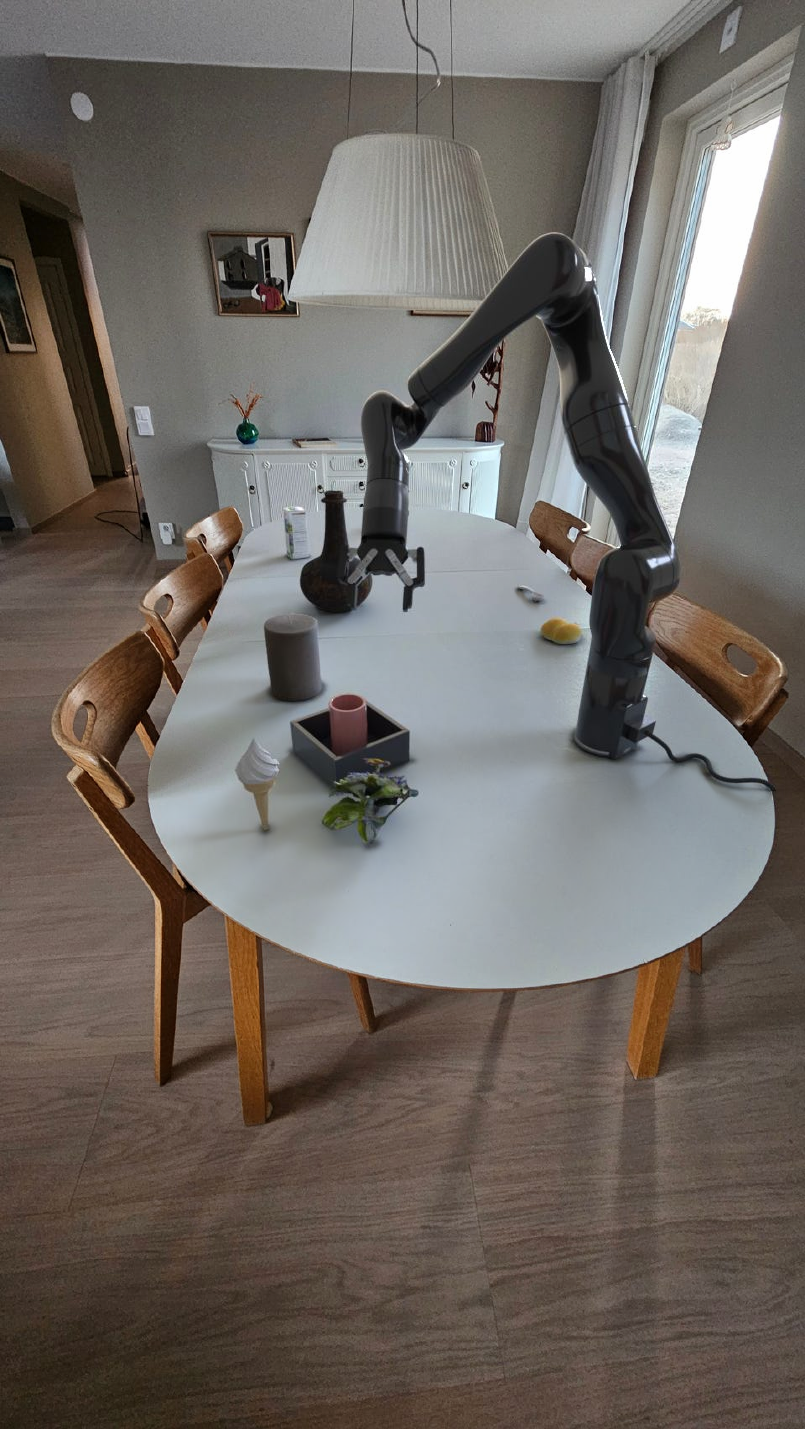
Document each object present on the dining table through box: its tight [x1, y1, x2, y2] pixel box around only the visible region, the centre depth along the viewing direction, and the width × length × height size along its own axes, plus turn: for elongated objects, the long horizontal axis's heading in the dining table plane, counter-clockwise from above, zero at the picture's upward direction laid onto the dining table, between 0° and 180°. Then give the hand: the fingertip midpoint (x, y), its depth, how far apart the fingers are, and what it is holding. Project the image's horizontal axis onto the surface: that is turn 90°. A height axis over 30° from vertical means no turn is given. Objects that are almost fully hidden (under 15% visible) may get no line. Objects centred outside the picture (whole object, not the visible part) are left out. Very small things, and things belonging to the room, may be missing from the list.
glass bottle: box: [299, 489, 373, 613], centre depth 151 cm, size 18×18×28 cm
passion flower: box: [321, 758, 420, 845], centre depth 84 cm, size 11×11×12 cm
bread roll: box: [540, 617, 583, 645], centre depth 140 cm, size 8×9×4 cm
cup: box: [328, 692, 368, 757], centre depth 98 cm, size 6×6×9 cm
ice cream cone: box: [234, 737, 280, 831], centre depth 81 cm, size 6×6×15 cm
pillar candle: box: [263, 612, 322, 702], centre depth 116 cm, size 10×10×15 cm
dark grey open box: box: [289, 700, 411, 790], centre depth 99 cm, size 14×14×6 cm
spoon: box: [517, 585, 545, 602], centre depth 164 cm, size 3×12×2 cm, turn 17°
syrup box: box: [282, 506, 310, 560], centre depth 191 cm, size 6×6×14 cm
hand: (379, 609), depth 101 cm, fingers open, 8 cm apart
